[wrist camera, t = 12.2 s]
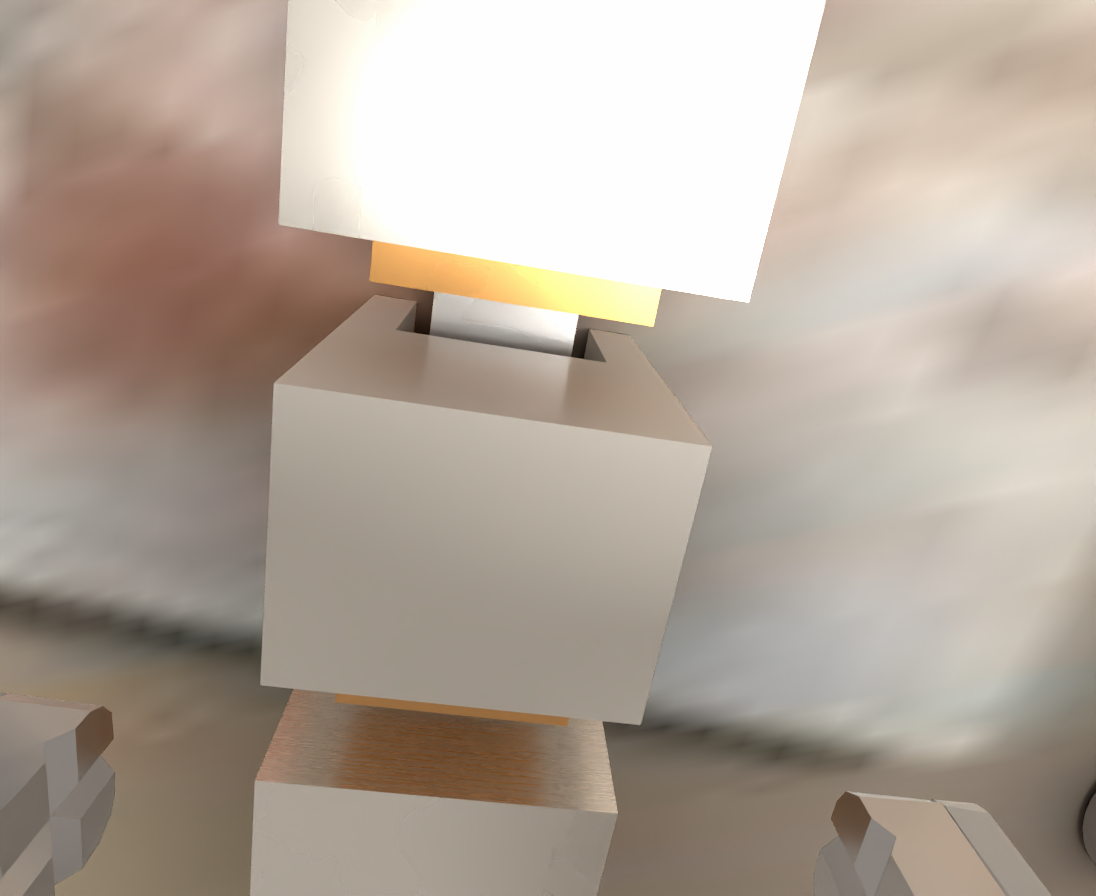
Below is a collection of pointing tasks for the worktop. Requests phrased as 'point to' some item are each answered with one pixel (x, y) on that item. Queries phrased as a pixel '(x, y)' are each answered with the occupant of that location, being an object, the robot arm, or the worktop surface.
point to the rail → (509, 344)
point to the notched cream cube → (474, 523)
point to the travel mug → (1090, 829)
